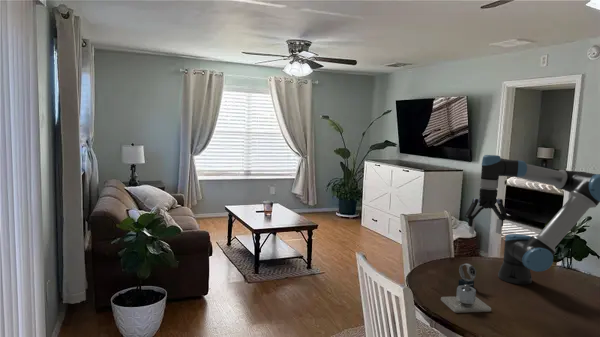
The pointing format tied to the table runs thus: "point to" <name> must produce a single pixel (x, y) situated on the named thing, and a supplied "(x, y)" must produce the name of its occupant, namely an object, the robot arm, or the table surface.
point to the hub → (466, 295)
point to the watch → (471, 272)
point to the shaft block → (463, 307)
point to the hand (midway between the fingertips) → (484, 233)
